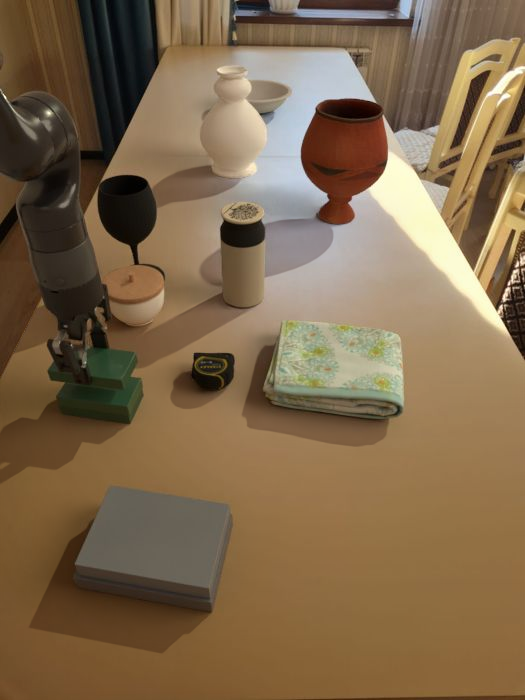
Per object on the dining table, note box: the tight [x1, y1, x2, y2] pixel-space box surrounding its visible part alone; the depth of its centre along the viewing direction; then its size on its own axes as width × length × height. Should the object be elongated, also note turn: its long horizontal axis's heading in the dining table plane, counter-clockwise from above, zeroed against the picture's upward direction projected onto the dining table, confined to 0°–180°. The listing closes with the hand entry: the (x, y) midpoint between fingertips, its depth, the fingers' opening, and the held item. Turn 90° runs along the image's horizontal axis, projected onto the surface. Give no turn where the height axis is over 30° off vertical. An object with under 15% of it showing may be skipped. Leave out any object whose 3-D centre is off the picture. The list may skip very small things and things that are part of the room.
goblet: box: [300, 97, 389, 225], centre depth 121 cm, size 19×19×25 cm
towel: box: [262, 319, 405, 420], centre depth 87 cm, size 18×21×5 cm
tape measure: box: [190, 352, 236, 391], centre depth 86 cm, size 7×7×4 cm
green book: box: [46, 345, 139, 390], centre depth 78 cm, size 11×6×2 cm, turn 80°
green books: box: [55, 376, 145, 425], centre depth 82 cm, size 11×6×4 cm, turn 80°
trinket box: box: [101, 264, 165, 327], centre depth 97 cm, size 11×11×9 cm
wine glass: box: [96, 174, 166, 281], centre depth 102 cm, size 10×10×20 cm
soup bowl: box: [245, 79, 293, 114], centre depth 183 cm, size 24×24×7 cm
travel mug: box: [219, 201, 266, 308], centre depth 99 cm, size 8×8×18 cm
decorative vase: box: [199, 65, 268, 179], centre depth 141 cm, size 18×18×25 cm
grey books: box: [72, 484, 234, 613], centre depth 64 cm, size 16×11×5 cm
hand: (93, 367), depth 78 cm, fingers closed on green book, 6 cm apart
